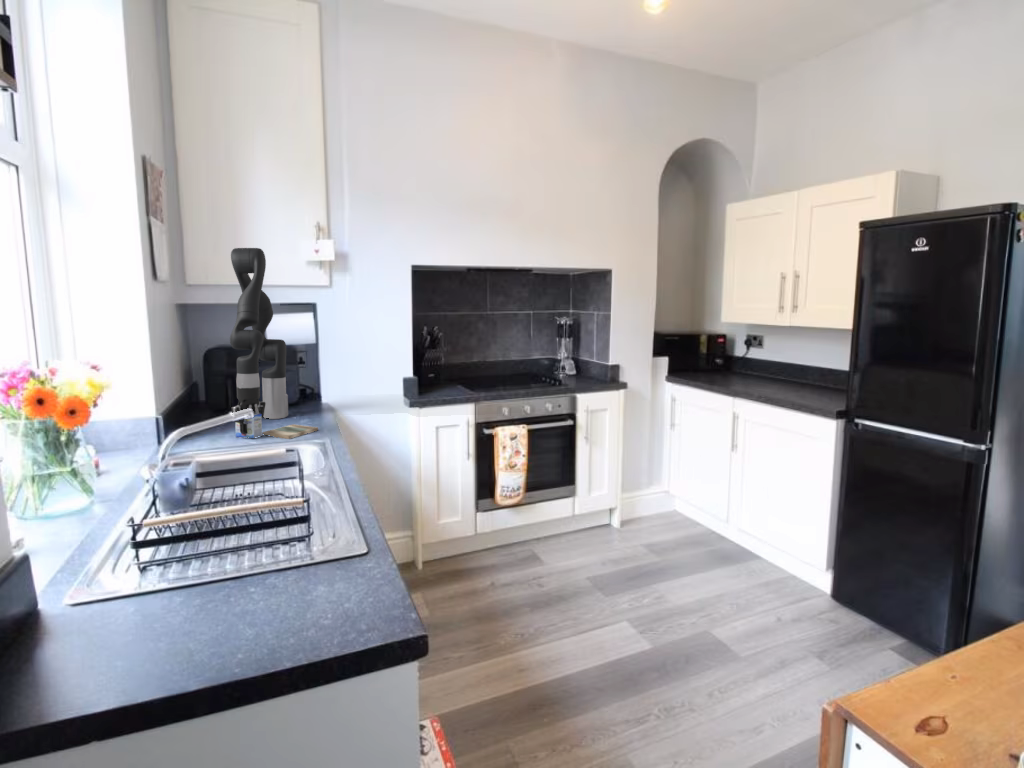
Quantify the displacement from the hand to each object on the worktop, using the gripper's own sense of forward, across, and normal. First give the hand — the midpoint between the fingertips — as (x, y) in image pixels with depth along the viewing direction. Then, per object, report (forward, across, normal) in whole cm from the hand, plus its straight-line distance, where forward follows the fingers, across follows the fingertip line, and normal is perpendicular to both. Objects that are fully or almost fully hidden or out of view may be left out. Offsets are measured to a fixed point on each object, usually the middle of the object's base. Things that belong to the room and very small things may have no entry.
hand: (249, 431), depth 201 cm
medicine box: (+2, 0, 0) cm, 2 cm away
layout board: (+2, -12, +8) cm, 14 cm away
